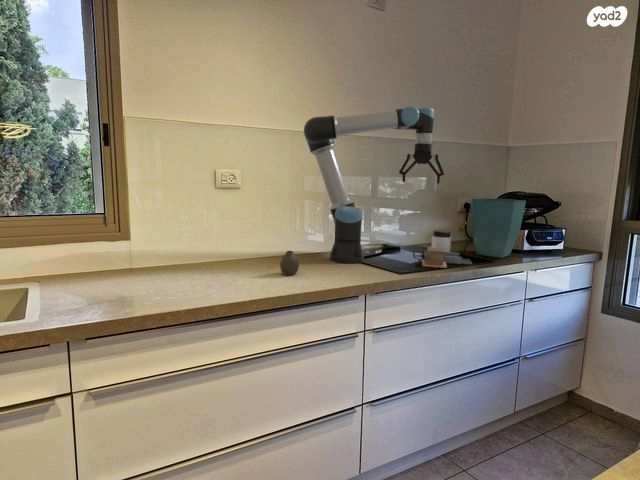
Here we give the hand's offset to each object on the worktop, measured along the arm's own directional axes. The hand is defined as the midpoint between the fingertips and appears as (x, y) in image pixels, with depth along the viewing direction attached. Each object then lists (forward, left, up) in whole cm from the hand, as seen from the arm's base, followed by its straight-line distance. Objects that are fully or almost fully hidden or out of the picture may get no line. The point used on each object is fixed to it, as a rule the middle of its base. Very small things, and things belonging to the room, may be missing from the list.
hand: (420, 190), depth 194 cm
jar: (+12, +10, -32) cm, 36 cm away
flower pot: (+39, +22, -32) cm, 55 cm away
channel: (+12, -3, -32) cm, 34 cm away
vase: (-46, -55, -32) cm, 78 cm away
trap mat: (+23, -3, -32) cm, 39 cm away
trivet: (+8, -16, -32) cm, 36 cm away
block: (+8, -15, -31) cm, 35 cm away
